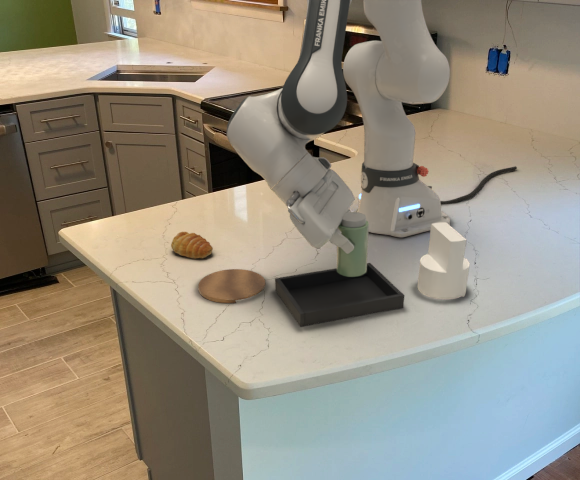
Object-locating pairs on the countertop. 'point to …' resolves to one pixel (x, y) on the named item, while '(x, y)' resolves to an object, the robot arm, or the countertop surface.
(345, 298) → the tray
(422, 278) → the base with upright slab
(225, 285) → the coaster
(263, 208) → the countertop surface
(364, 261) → the salt shaker
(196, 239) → the pastry
